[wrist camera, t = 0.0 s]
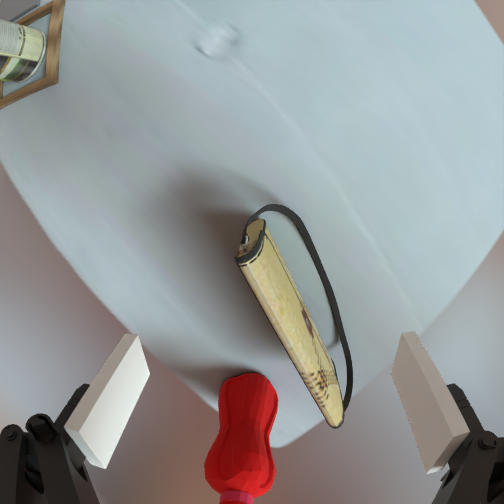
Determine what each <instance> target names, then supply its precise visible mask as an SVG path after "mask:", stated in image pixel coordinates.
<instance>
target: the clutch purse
mask: <svg viewBox="0 0 504 504" xmlns="http://www.w3.org/2000/svg"><path fill="white" fill-rule="evenodd" d="M265 211H278V212H280V213H282V214H284V215H286V216H287V217H289V218H290V219H291V220H292V221H293V222H294V223H295V224H296V226H297V227H298V229H299V231H300V233H301V235H302V237H303V239H304V241H305V243H306V245H307V247H308V250H309V252H310V254H311V256H312V258H313V261H314V263H315V265H316V268H317V270H318V272H319V275H320V277H321V279H322V282H323V284H324V287H325V289H326V292H327V295H328V297H329V300H330V304H331V307H332V311H333V314H334V318H335V322H336V325H337V329H338V333H339V337H340V340H341V344H342V347H343V351H344V354H345V359H346V366H347V386H346V393H345V397H344V400H342V394H341V390H340V386H339V382H338V378H337V373H336V369H335V365H334V362H333V360H332V359H331V358H330V356H329V354H328V352H327V350H326V348H325V345H324V343H323V341H322V339H321V337H320V335H319V333H318V331H317V329H316V326H315V324H314V322H313V320H312V318H311V316H310V314H309V312H308V310H307V308H306V306H305V304H304V301H303V299H302V297H301V295H300V293H299V291H298V289H297V287H296V285H295V283H294V281H293V279H292V277H291V275H290V273H289V271H288V269H287V267H286V265H285V262H284V260H283V258H282V256H281V254H280V252H279V250H278V248H277V246H276V244H275V242H274V240H273V238H272V236H271V234H270V232H269V230H268V228H267V226H266V221H265V220H264V219H258V220H255V221H253V220H254V219H255V218H256V217H257V216H258V215H260V214H261V213H263V212H265ZM252 221H253V222H252ZM250 222H252V223H251V224H250V225H249V223H250ZM248 225H249V226H248ZM247 226H248V227H247ZM234 259H235V262H236V264H237V265H238V267H239V269H240V270H241V272H242V274H243V276H244V278H245V279H246V281H247V283H248V285H249V287H250V288H251V290H252V292H253V294H254V295H255V297H256V299H257V301H258V303H259V304H260V306H261V308H262V310H263V311H264V313H265V315H266V317H267V319H268V320H269V322H270V324H271V326H272V327H273V329H274V331H275V333H276V334H277V336H278V338H279V340H280V341H281V343H282V345H283V347H284V348H285V350H286V352H287V354H288V355H289V357H290V359H291V361H292V362H293V364H294V366H295V368H296V369H297V371H298V373H299V375H300V376H301V378H302V380H303V381H304V383H305V385H306V387H307V388H308V390H309V392H310V393H311V395H312V397H313V399H314V400H315V402H316V404H317V405H318V407H319V409H320V410H321V412H322V414H323V416H324V417H325V419H326V421H327V423H328V424H329V425H330V426H331V427H332V428H339V427H340V426H341V425H342V424H343V422H344V412H345V411H346V409H347V407H348V405H349V402H350V399H351V394H352V387H353V368H352V360H351V355H350V351H349V347H348V344H347V340H346V336H345V333H344V329H343V325H342V321H341V317H340V313H339V309H338V306H337V302H336V299H335V296H334V293H333V290H332V287H331V285H330V282H329V280H328V277H327V275H326V273H325V270H324V268H323V265H322V263H321V260H320V258H319V256H318V253H317V251H316V249H315V246H314V244H313V242H312V240H311V238H310V235H309V233H308V231H307V229H306V227H305V225H304V223H303V222H302V220H301V219H300V218H299V216H298V215H297V214H295V213H294V212H293V211H292V210H290V209H289V208H287V207H285V206H283V205H278V204H270V205H266V206H264V207H262V208H261V209H260V210H259V211H257V212H256V213H255V214H254V215H253V216H252V217H251V218H250V219H249V220H248V222H247V225H246V227H245V229H244V232H243V237H242V241H241V245H240V248H239V251H238V254H237V257H234Z"/></svg>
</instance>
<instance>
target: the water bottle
mask: <svg viewBox="0 0 504 504" xmlns="http://www.w3.org/2000/svg"><path fill="white" fill-rule="evenodd" d="M218 407H219V420H220V430H219V434H218V436H217V438H216V440H215V442H214V443H213V445H212V447H211V449H210V450H209V452H208V455H207V458H206V461H205V463H204V468H205V479H206V480H207V482H208V483H209V485H210V486H211V487H212V488H213V489H214V490H215V491H217V492H218V493H220V494H221V496H220V504H253V498H255V497H258V496H261V495H263V494H264V493H266V492H267V491H268V490H270V489H271V487H272V484H273V481H274V477H275V474H276V470H275V465H274V461H273V457H272V453H271V448H270V444H269V435H270V432H271V429H272V426H273V423H274V420H275V417H276V414H277V408H278V397H277V393H276V391H275V389H274V388H273V386H272V384H271V383H270V381H269V380H268V379H267V378H266V377H264V376H263V375H260V374H257V373H247V374H243V375H241V376H238V377H231V378H230V379H228V380H226V381H225V382H224V383H223V384H222V386H221V388H220V393H219V400H218Z"/></svg>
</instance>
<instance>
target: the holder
mask: <svg viewBox="0 0 504 504" xmlns="http://www.w3.org/2000/svg"><path fill="white" fill-rule="evenodd" d="M64 6H65V0H53V1H51V2H49V3H47V4H45V5H44V6H42V7H40V8H38V9H37V10H35V11H33V12H31V13H30V14H28V15H26V16H25V17H23V18H21V19H20V20H18V21H17V22H15V23H17V24H20V25H24V26H28V25H29V24H31V23H33V22H34V21H36V20H38V19H40V18H42V17H44V16H45V15H47V14H49V13H51V12H52V13H51V19H50V27H49V35H48V45H47V57H46V75H45V77H44V78H42V79H40V80H38V81H36V82H33V83H31V84H29V85H27V86H25V87H23V88H21V89H19V90H17V91H15V92H13V93H11V94H9V95H7V96H6V97H4V98H2V96H3V81H1V80H0V109H2V108H4V107H6V106H8V105H10V104H12V103H14V102H16V101H18V100H20V99H22V98H24V97H26V96H28V95H30V94H33V93H35V92H37V91H39V90H42V89H44V88H46V87H49V86H51V85H54V84H56V83H58V69H59V51H60V39H61V29H62V21H63V13H64Z"/></svg>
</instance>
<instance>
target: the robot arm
mask: <svg viewBox="0 0 504 504" xmlns="http://www.w3.org/2000/svg"><path fill="white" fill-rule="evenodd" d="M149 375H150V372H149V370H148V366H147V363H146V360H145V357H144V354H143V350H142V346H141V343H140V339H139V336H138V335H136V334H125V335H124V336H123V338H122V339H121V340H120V342H119V343H118V345H117V346H116V348H115V349H114V351H113V352H112V353H111V355H110V356H109V358H108V359H107V361H106V362H105V364H104V365H103V367H102V368H101V370H100V371H99V373H98V374H97V376H96V377H95V379H94V380H93V382H92V383H91V385H89V384H83V385H82V386H81V387H79V388H78V389H77V390H76V391H75V392H74V394H73V396H72V397H71V399H70V400H69V401H68V403H67V405H66V406H65V407H64V409H63V410H62V412H61V414H60V415H59V417H58V418H57V420H56V421H55V423H53V421H52V420H51V418H50V417H49V416H48V415H46V414H42V413H41V414H36V415H33V416H32V417H31V418H29V419H28V421H27V423H26V427H25V428H26V429H27V431H28V432H29V433H27V432H23V431H22V429H21V428H20V427H19V426H18V425H15V424H12V425H8V426H6V427H5V428H4V429H3V430H2V432H1V434H0V504H100V503H99V501H98V498H97V496H96V493H95V491H94V488H93V486H92V483H91V480H90V478H89V475H88V472H87V469H86V467H85V465H84V463H83V462H84V460H85V458H87V459H88V461H89V462H90V463H91V464H92V465H95V466H98V467H101V468H104V469H106V467H107V465H108V463H109V461H110V458H111V456H112V454H113V452H114V449H115V447H116V445H117V443H118V441H119V439H120V436H121V434H122V432H123V430H124V428H125V426H126V423H127V421H128V419H129V417H130V415H131V413H132V411H133V409H134V407H135V405H136V402H137V400H138V398H139V396H140V394H141V392H142V390H143V388H144V386H145V384H146V382H147V380H148V378H149ZM391 376H392V379H393V381H394V384H395V386H396V389H397V391H398V394H399V397H400V399H401V402H402V404H403V407H404V410H405V412H406V415H407V418H408V421H409V423H410V426H411V429H412V432H413V435H414V437H415V440H416V443H417V446H418V449H419V452H420V455H421V458H422V461H423V464H424V467H425V470H426V474H428V473H432V472H435V471H439V470H442V469H443V468H444V466H445V465H446V464H447V463H448V464H449V467H450V469H449V470H448V472H447V473H446V474H445V475H444V476H443V477H442V479H441V481H443V483H442V485H441V487H440V489H439V491H438V493H437V495H436V497H435V499H434V500H433V502H432V504H504V437H501V438H498V437H497V436H496V435H495V434H494V433H492V432H490V431H485V430H484V429H483V427H482V425H481V423H480V421H479V419H478V418H477V416H476V414H475V412H474V410H473V408H472V407H471V406H470V403H469V401H468V400H467V397H466V396H465V394H464V392H463V390H462V389H460V388H459V387H458V386H457V385H456V384H449V385H446V384H445V382H444V380H443V379H442V377H441V375H440V373H439V372H438V370H437V368H436V366H435V364H434V363H433V361H432V359H431V358H430V356H429V354H428V352H427V351H426V349H425V347H424V346H423V344H422V343H421V341H420V339H419V337H418V336H417V334H416V333H415V332H407V333H402V334H401V338H400V342H399V346H398V349H397V353H396V357H395V360H394V364H393V368H392V371H391Z"/></svg>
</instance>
